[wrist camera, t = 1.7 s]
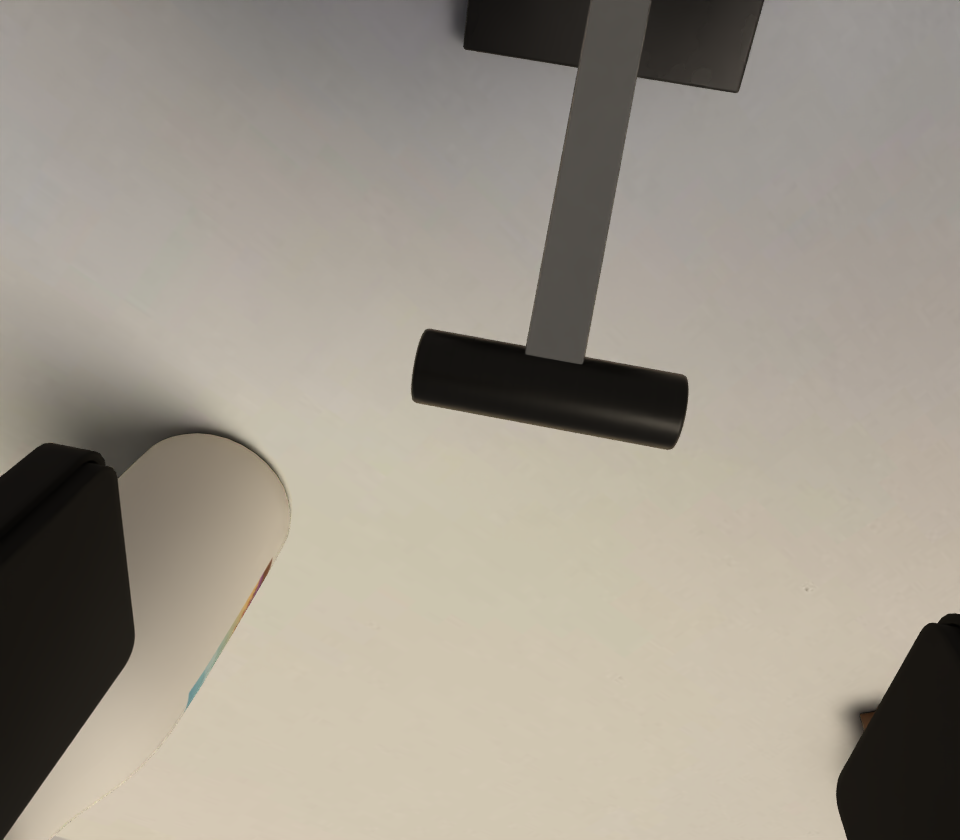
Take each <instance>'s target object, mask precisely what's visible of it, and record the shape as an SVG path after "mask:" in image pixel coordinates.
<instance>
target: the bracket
mask: <svg viewBox="0 0 960 840" xmlns="http://www.w3.org/2000/svg"><path fill="white" fill-rule="evenodd" d="M590 1H591V0H468V8H467V17H466V26H465V34H464V43H463V47H464V49H465V50H471V51H477V52H483V53H490V54H496V55H502V56H508V57H514V58H521V59H527V60H533V61H539V62H546V63H552V64H558V65H564V66H570V67H577V68H578V65H579V60H580V55H581V49H582V44H583V39H584V33H585V28H586V23H587V17H588V12H589V7H590ZM763 3H764V0H651V5H650V10H649V15H648V21H647V26H646V31H645V37H644V42H643V47H642V53H641V58H640V64H639V69H638V74H637V77H639V78H645V79H651V80H657V81H664V82H670V83H676V84H682V85H689V86H695V87H701V88H707V89H713V90H720V91H726V92H732V93H738V91H739V89H740V86H741V82H742V78H743V75H744V71H745V68H746V64H747V61H748V57H749V53H750V50H751V46H752V43H753V39H754V35H755V32H756V28H757V25H758V21H759V17H760V14H761V10H762V7H763Z"/></svg>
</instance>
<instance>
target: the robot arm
mask: <svg viewBox="0 0 960 840" xmlns="http://www.w3.org/2000/svg"><path fill="white" fill-rule="evenodd" d="M134 641H135V628H134V619H133V610H132V602H131V593H130V584H129V575H128V566H127V558H126V549H125V540H124V531H123V522H122V514H121V505H120V496H119V487H118V479H117V475H116V472H115V470H114V469H113V468H111V467H109V466H106V465H105V461H104V459H103V457H102V456H101V454H100V453H98V452H96V451H91V450H86V449H81V448H76V447H70V446H65V445H60V444H54V443H45V444H42V445H41V446H39V447H37V448H36V449H35V450H33V451H32V452H31V453H30V454H28V455H27V456H26V457H25V458H23V459H22V460H21V461H20V462H18V463H17V464H16V465H15V466H13V467H12V468H11V469H10V470H8V471H7V472H6V473H5V474H3V475H2V476H1V477H0V840H3V839H4V838H5V836H6V835H7V833H8V832H9V831H10V829H11V828H12V826H13V825H14V823H15V822H16V821H17V819H18V818H19V816H20V815H21V813H22V812H23V811H24V809H25V808H26V806H27V805H28V804H29V802H30V801H31V799H32V798H33V796H34V795H35V794H36V792H37V791H38V789H39V788H40V786H41V785H42V784H43V782H44V781H45V779H46V778H47V777H48V775H49V774H50V772H51V771H52V769H53V768H54V767H55V765H56V764H57V762H58V761H59V759H60V758H61V757H62V755H63V754H64V752H65V751H66V749H67V748H68V747H69V745H70V744H71V742H72V741H73V740H74V738H75V737H76V735H77V734H78V732H79V731H80V730H81V728H82V727H83V725H84V724H85V722H86V721H87V720H88V718H89V717H90V715H91V714H92V712H93V711H94V710H95V708H96V707H97V705H98V704H99V703H100V701H101V700H102V698H103V697H104V695H105V694H106V693H107V691H108V690H109V688H110V687H111V685H112V684H113V683H114V681H115V680H116V678H117V677H118V676H119V674H120V673H121V671H122V670H123V668H124V667H125V665H126V664H127V662H128V660H129V658H130V656H131V653H132V650H133V647H134ZM836 798H837V806H838V810H839V814H840V817H841V820H842V824H843V827H844V830H845V833H846V837H847V840H960V614H956V613H955V614H947V615H946V616H944V617H942V618H941V619H940V621H939V622H938V623H929V624H927V625H926V626H924V628H923V629H922V630H921V632H920V634H919V635H918V637H917V639H916V641H915V642H914V644H913V646H912V648H911V649H910V651H909V653H908V655H907V657H906V658H905V660H904V662H903V664H902V665H901V667H900V669H899V671H898V672H897V674H896V676H895V678H894V679H893V681H892V683H891V685H890V687H889V688H888V690H887V692H886V694H885V695H884V697H883V699H882V701H881V702H880V704H879V706H878V708H877V710H876V711H875V713H874V715H873V717H872V718H871V720H870V722H869V724H868V725H867V727H866V729H865V731H864V733H863V734H862V736H861V738H860V740H859V741H858V743H857V745H856V747H855V748H854V750H853V752H852V754H851V756H850V757H849V759H848V761H847V763H846V764H845V766H844V768H843V770H842V771H841V773H840V776H839V778H838V782H837V790H836Z"/></svg>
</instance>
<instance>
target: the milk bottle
mask: <svg viewBox="0 0 960 840" xmlns="http://www.w3.org/2000/svg"><path fill="white" fill-rule="evenodd" d="M118 487H119V496H120V505H121V514H122V522H123V531H124V540H125V549H126V558H127V566H128V575H129V584H130V593H131V602H132V610H133V619H134V628H135V641H134V647H133V650H132V653H131V656H130V658H129V660H128V662H127V664H126V665H125V667H124V668H123V670H122V671H121V673H120V674H119V676H118V677H117V678H116V680H115V681H114V683H113V684H112V685H111V687H110V688H109V690H108V691H107V693H106V694H105V695H104V697H103V698H102V700H101V701H100V703H99V704H98V705H97V707H96V708H95V710H94V711H93V712H92V714H91V715H90V717H89V718H88V720H87V721H86V722H85V724H84V725H83V727H82V728H81V730H80V731H79V732H78V734H77V735H76V737H75V738H74V740H73V741H72V742H71V744H70V745H69V747H68V748H67V749H66V751H65V752H64V754H63V755H62V757H61V758H60V759H59V761H58V762H57V764H56V765H55V767H54V768H53V769H52V771H51V772H50V774H49V775H48V777H47V778H46V779H45V781H44V782H43V784H42V785H41V786H40V788H39V789H38V791H37V792H36V794H35V795H34V796H33V798H32V799H31V801H30V802H29V804H28V805H27V806H26V808H25V809H24V811H23V812H22V813H21V815H20V816H19V818H18V819H17V821H16V822H15V823H14V825H13V826H12V828H11V829H10V831H9V832H8V833H7V835H6V836H5V838H4V839H3V840H50V839H51V838H52V837H53V836H54V835H55V834H56V833H58V832H59V831H60V830H61V829H62V828H63V827H65V826H66V825H67V824H68V823H69V822H71V821H72V820H73V819H75V818H76V817H77V816H78V815H80V814H81V813H83V812H84V811H85V810H87V809H88V808H90V807H91V806H92V805H94V804H95V803H97V802H98V801H100V800H101V799H102V798H104V797H105V796H107V795H108V794H110V793H111V792H112V791H114V790H115V789H116V788H117V787H119V786H120V785H121V784H123V783H124V782H125V781H126V780H128V779H129V778H130V777H131V776H132V775H133V774H134V773H135V772H137V771H138V770H139V769H140V768H141V767H142V766H143V765H144V764H145V763H146V762H147V761H148V760H149V758H150V757H151V756H152V755H153V754H154V753H155V752H156V751H157V750H158V748H159V747H160V746H161V745H162V743H163V742H164V741H165V740H166V738H167V737H168V736H169V734H170V733H171V732H172V730H173V729H174V727H175V726H176V724H177V723H178V721H179V720H180V718H181V717H182V715H183V713H184V712H185V710H186V709H187V707H188V706H189V704H190V703H191V701H192V700H193V698H194V696H195V695H196V693H197V692H198V690H199V689H200V687H201V685H202V684H203V682H204V680H205V679H206V677H207V675H208V674H209V672H210V670H211V669H212V667H213V665H214V664H215V662H216V660H217V659H218V657H219V655H220V654H221V652H222V650H223V649H224V647H225V645H226V644H227V642H228V640H229V639H230V637H231V635H232V634H233V632H234V630H235V629H236V627H237V625H238V623H239V622H240V620H241V618H242V617H243V615H244V613H245V611H246V610H247V608H248V606H249V605H250V603H251V601H252V599H253V598H254V596H255V594H256V593H257V591H258V589H259V588H260V586H261V584H262V582H263V581H264V579H265V577H266V576H267V574H268V572H269V570H270V569H271V567H272V565H273V563H274V562H275V560H276V558H277V557H278V555H279V553H280V551H281V549H282V547H283V545H284V543H285V541H286V539H287V537H288V533H289V529H290V508H289V501H288V498H287V495H286V492H285V489H284V487H283V485H282V484H281V482H280V480H279V478H278V477H277V475H276V474H275V473H274V472H273V471H272V469H271V468H270V467H269V465H268V464H267V463H266V462H264V461H263V460H262V459H261V458H260V457H259V456H258V455H256V454H255V453H254V452H252V451H250V450H249V449H247V448H246V447H244V446H243V445H241V444H238V443H236V442H234V441H232V440H229V439H227V438H223V437H219V436H216V435H212V434H200V433H194V434H183V435H178V436H174V437H170V438H167V439H165V440H162V441H160V442H158V443H157V444H155V445H154V446H152V447H151V448H150V449H149V450H148V451H147V452H146V453H144V454H143V455H142V456H141V457H140V458H139V459H138V460H137V461H136V462H135V463H134V464H133V465H132V466H130V467H129V468H128V469H127V470H126V471H125V472H124V473H123V474H122V475H121V476H120V477H119V478H118Z"/></svg>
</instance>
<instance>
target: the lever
mask: <svg viewBox="0 0 960 840" xmlns="http://www.w3.org/2000/svg"><path fill="white" fill-rule="evenodd" d="M650 5H651V0H591V1H590V7H589V12H588V17H587V23H586V28H585V33H584V39H583V44H582V49H581V55H580V60H579V65H578V71H577V76H576V81H575V87H574V92H573V97H572V103H571V108H570V113H569V119H568V124H567V129H566V135H565V140H564V145H563V151H562V156H561V161H560V167H559V172H558V177H557V183H556V188H555V193H554V199H553V204H552V209H551V215H550V220H549V226H548V231H547V236H546V242H545V247H544V252H543V258H542V263H541V268H540V274H539V279H538V284H537V290H536V295H535V300H534V306H533V311H532V316H531V322H530V327H529V332H528V338H527V343H526V346H523V345H517V344H512V343H506V342H500V341H495V340H489V339H484V338H478V337H473V336H467V335H462V334H456V333H451V332H445V331H440V330H434V329H426V330H425V331H424V333H423V334H422V336H421V339H420V341H419V345H418V348H417V352H416V357H415V362H414V367H413V374H412V383H411V395H412V400H413V401H414V402H416V403H420V404H425V405H430V406H436V407H441V408H446V409H452V410H457V411H462V412H468V413H473V414H478V415H484V416H489V417H494V418H500V419H505V420H510V421H516V422H521V423H527V424H532V425H537V426H543V427H548V428H553V429H559V430H564V431H569V432H575V433H580V434H585V435H591V436H596V437H601V438H607V439H612V440H618V441H623V442H628V443H634V444H639V445H644V446H650V447H655V448H660V449H666V450H669V449H672V448H673V447H674V446H675V445H676V443H677V441H678V439H679V437H680V434H681V431H682V428H683V424H684V420H685V416H686V410H687V404H688V392H689V389H688V380H687V377H686V376H684V375H682V374H677V373H671V372H666V371H660V370H655V369H649V368H644V367H638V366H633V365H627V364H622V363H616V362H611V361H605V360H600V359H594V358H589V357H585V353H586V348H587V343H588V337H589V332H590V326H591V321H592V316H593V310H594V305H595V300H596V294H597V289H598V284H599V278H600V273H601V267H602V262H603V257H604V251H605V246H606V241H607V235H608V230H609V225H610V219H611V214H612V208H613V203H614V198H615V192H616V187H617V182H618V176H619V171H620V165H621V160H622V155H623V149H624V144H625V139H626V133H627V128H628V123H629V117H630V112H631V106H632V101H633V96H634V90H635V85H636V80H637V74H638V69H639V64H640V58H641V53H642V47H643V42H644V37H645V31H646V26H647V21H648V15H649V10H650Z"/></svg>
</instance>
